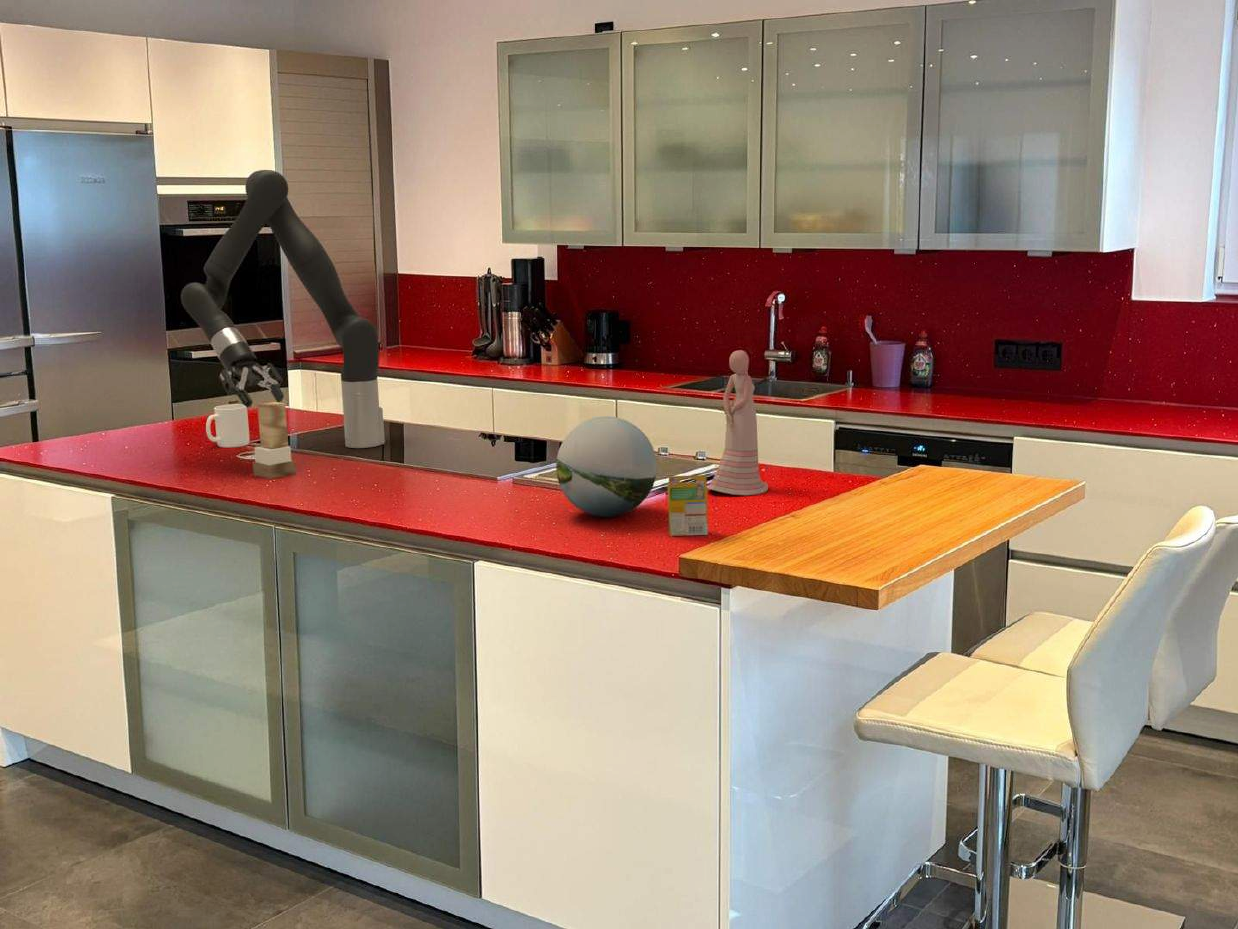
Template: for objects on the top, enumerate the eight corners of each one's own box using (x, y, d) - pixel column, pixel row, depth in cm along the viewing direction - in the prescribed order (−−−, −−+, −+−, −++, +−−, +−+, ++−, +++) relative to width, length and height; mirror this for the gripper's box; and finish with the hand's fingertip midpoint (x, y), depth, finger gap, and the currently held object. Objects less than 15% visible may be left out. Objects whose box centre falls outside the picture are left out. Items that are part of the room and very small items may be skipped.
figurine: (767, 483, 296) (766, 346, 290) (770, 496, 284) (769, 354, 278) (707, 484, 297) (705, 347, 291) (707, 497, 285) (705, 355, 279)
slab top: (277, 458, 322) (276, 443, 321) (291, 461, 318) (290, 446, 317) (255, 462, 318) (254, 447, 317) (268, 465, 314) (267, 450, 313)
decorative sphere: (650, 501, 282) (648, 406, 278) (664, 525, 263) (662, 423, 259) (554, 506, 280) (550, 411, 276) (562, 530, 260) (558, 428, 256)
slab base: (279, 471, 324) (278, 457, 323) (296, 475, 319) (295, 460, 318) (253, 476, 319) (252, 462, 318) (270, 480, 314) (269, 465, 313)
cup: (256, 443, 358) (253, 405, 356) (217, 451, 349) (214, 412, 347) (237, 440, 363) (234, 403, 361) (198, 448, 354) (195, 409, 352)
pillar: (277, 444, 321) (273, 402, 319) (288, 445, 318) (284, 403, 316) (260, 446, 317) (257, 404, 316) (272, 448, 314) (268, 405, 313)
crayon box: (706, 531, 257) (705, 471, 255) (708, 535, 254) (707, 475, 252) (668, 532, 257) (667, 473, 255) (669, 536, 254) (668, 476, 252)
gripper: (212, 344, 315) (245, 396, 310) (264, 337, 325) (296, 388, 320) (201, 365, 319) (234, 417, 314) (253, 357, 330) (285, 408, 325)
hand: (265, 402), depth 317 cm, fingers open, 8 cm apart
